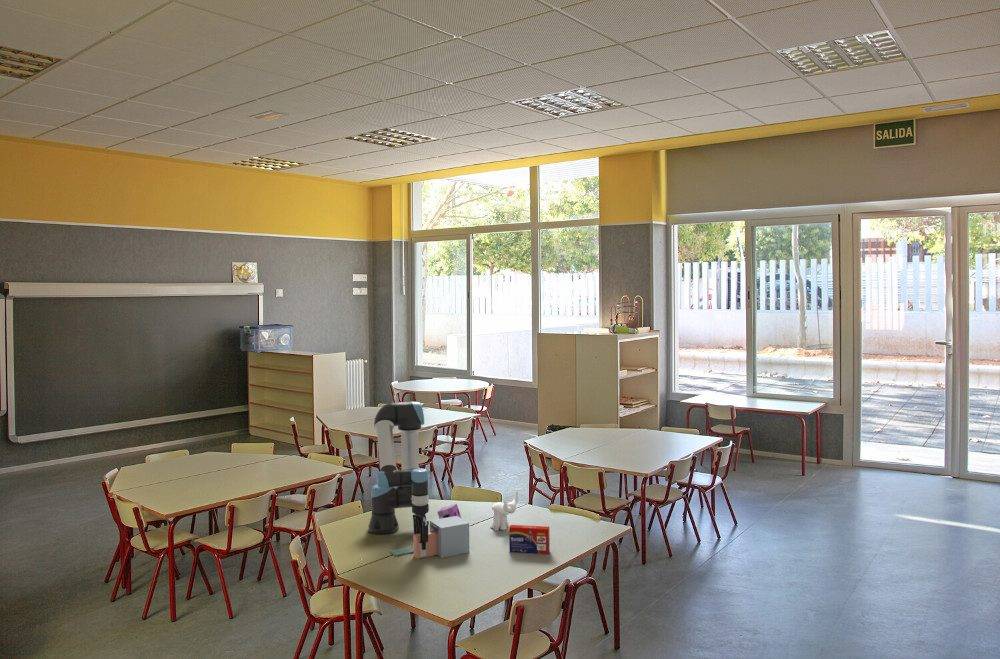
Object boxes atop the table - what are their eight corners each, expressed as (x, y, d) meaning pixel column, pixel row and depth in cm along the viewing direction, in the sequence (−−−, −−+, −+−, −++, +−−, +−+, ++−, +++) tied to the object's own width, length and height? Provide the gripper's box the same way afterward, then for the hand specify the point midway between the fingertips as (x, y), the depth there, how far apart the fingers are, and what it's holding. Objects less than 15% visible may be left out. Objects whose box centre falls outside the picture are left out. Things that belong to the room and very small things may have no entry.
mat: (390, 552, 336) (390, 551, 336) (424, 545, 344) (424, 544, 344) (394, 556, 330) (394, 554, 330) (429, 549, 339) (429, 548, 338)
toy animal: (508, 535, 359) (509, 501, 358) (485, 532, 363) (486, 498, 362) (520, 523, 377) (522, 491, 376) (498, 520, 381) (499, 488, 380)
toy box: (549, 551, 334) (549, 526, 334) (548, 554, 330) (548, 529, 330) (510, 549, 338) (510, 524, 337) (509, 552, 334) (509, 527, 333)
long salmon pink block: (413, 556, 330) (413, 534, 330) (446, 549, 338) (445, 528, 337) (416, 558, 327) (416, 536, 327) (449, 552, 335) (448, 530, 334)
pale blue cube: (428, 549, 339) (428, 520, 338) (457, 543, 346) (456, 515, 345) (439, 558, 327) (439, 528, 327) (469, 552, 334) (469, 523, 334)
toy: (461, 538, 351) (451, 508, 352) (446, 542, 353) (436, 512, 354) (466, 531, 362) (457, 502, 363) (452, 536, 363) (442, 507, 364)
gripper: (405, 500, 334) (406, 550, 335) (419, 509, 320) (420, 562, 321) (420, 498, 338) (421, 547, 339) (435, 506, 324) (436, 558, 325)
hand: (421, 554), depth 330 cm, fingers closed on long salmon pink block, 3 cm apart
